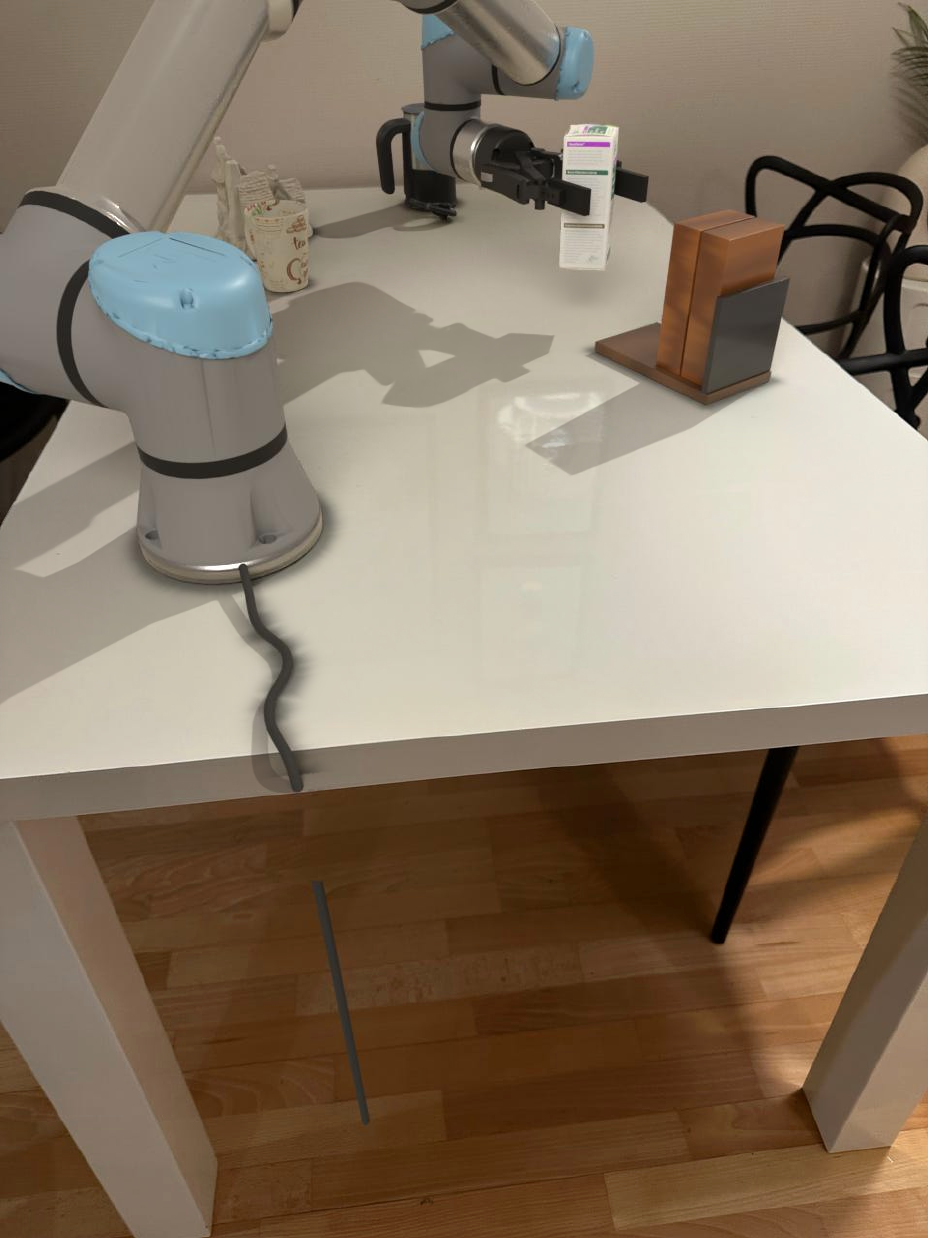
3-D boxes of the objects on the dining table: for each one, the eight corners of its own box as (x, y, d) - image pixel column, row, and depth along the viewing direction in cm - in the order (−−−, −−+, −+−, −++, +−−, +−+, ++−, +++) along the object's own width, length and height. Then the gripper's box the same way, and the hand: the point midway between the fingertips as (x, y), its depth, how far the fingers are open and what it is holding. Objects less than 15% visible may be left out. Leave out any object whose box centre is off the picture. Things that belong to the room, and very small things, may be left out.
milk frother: (434, 193, 160) (431, 98, 150) (496, 210, 151) (496, 111, 141) (371, 209, 152) (364, 111, 143) (432, 229, 143) (428, 125, 134)
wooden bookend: (769, 381, 98) (803, 226, 88) (706, 405, 94) (733, 245, 84) (655, 331, 110) (673, 188, 99) (594, 351, 105) (606, 204, 95)
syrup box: (606, 271, 106) (618, 134, 96) (556, 268, 107) (563, 133, 97) (609, 256, 110) (621, 123, 101) (562, 253, 111) (569, 122, 102)
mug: (281, 300, 120) (270, 221, 113) (225, 279, 126) (212, 204, 120) (328, 283, 124) (320, 207, 118) (272, 264, 131) (261, 191, 125)
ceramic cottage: (229, 262, 131) (216, 147, 122) (207, 236, 143) (193, 130, 134) (332, 254, 137) (325, 144, 128) (302, 230, 149) (295, 127, 140)
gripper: (557, 176, 121) (678, 214, 107) (429, 203, 112) (543, 248, 98) (559, 113, 117) (687, 145, 102) (426, 136, 108) (546, 174, 93)
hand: (616, 195), depth 100 cm, fingers closed on syrup box, 8 cm apart
